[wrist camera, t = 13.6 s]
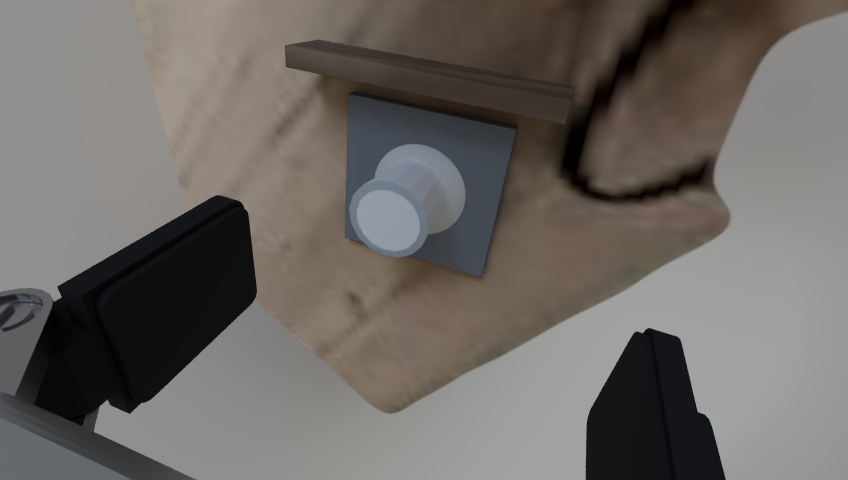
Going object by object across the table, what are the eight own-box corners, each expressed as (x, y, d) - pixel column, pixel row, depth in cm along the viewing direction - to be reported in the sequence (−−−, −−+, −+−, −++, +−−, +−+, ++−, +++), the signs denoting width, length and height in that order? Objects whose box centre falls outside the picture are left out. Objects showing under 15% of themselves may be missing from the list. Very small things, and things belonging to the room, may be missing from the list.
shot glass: (466, 184, 38) (444, 217, 33) (427, 235, 42) (401, 273, 36) (404, 137, 38) (371, 162, 32) (370, 193, 42) (335, 224, 36)
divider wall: (318, 39, 38) (284, 45, 34) (574, 87, 33) (571, 100, 29) (318, 59, 38) (286, 67, 34) (568, 108, 34) (565, 124, 30)
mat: (353, 91, 39) (348, 94, 38) (517, 126, 36) (515, 130, 35) (349, 233, 47) (344, 238, 46) (483, 272, 44) (481, 278, 43)
